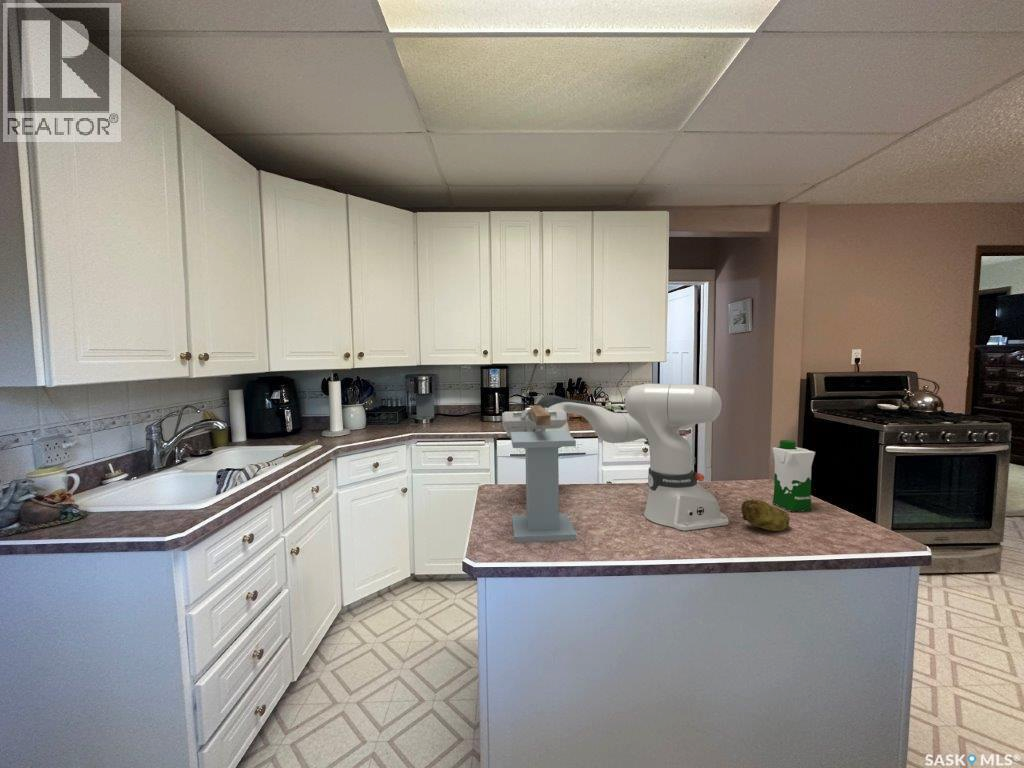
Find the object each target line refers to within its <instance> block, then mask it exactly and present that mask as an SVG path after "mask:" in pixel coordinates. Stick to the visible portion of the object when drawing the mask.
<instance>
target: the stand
mask: <svg viewBox="0 0 1024 768" xmlns="http://www.w3.org/2000/svg"><path fill="white" fill-rule="evenodd" d="M509 437H510V440H511V446H512V448H513V449H524V448H525V449H524V451H525V454H524V455H525V501H526V502H525V503H526V505H525V506H526V512H525V513H526V514H517V515H515V514H514V515H511V524H512V531H513V540H514V543H534V542H558V541H559V542H560V541H562V542H563V541H564V542H565V541H577V539H578V538H577V533H576V531H575V529H574V526H573V524H572V522H571V520H570V518H569V516H568V513H567V512H566V513H560V501H559V500H560V491H559V490H560V488H559V486H560V484H559V483H560V482H559V481H560V480H559V477H560V473H559V472H560V471H559V448H558V447H560V448H565V447H566V448H567V447H569V448H572V447H576V446H577V444H576V443H577V440H576V439H575V438H574V437H573V436H572V435H571V433H570V434H569V433H568V432H567V431H534V432H510V436H509Z"/></svg>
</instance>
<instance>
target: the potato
mask: <svg viewBox="0 0 1024 768" xmlns="http://www.w3.org/2000/svg"><path fill="white" fill-rule="evenodd" d="M740 507H741V508H740V511H741V514H742V520H744V521H746V522H748V523H749V524H750V525H751V526H755V527H758V528H762V529H763V530H765V531H769V532H780V531H783V530H784V531H785V529H787V528H788V526H789V524H790V520H791V519H790V515H789V514H788V513H787V512H785V511H784V509H783V510H782V508H781V509H780V508H778V507H774V506H772V505H771V504H769V503H768V502H766V501H763V500H761V499H754V498H752V499H747V500H745V501H743V503H742V504H741V506H740Z"/></svg>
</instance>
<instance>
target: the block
mask: <svg viewBox="0 0 1024 768" xmlns="http://www.w3.org/2000/svg"><path fill="white" fill-rule="evenodd" d="M536 405H537V404H536ZM536 405H528V408H530V411H531V414H530V416H531V417H532V419H533V420H534V422H535V423H536V425H537V426H540V425H551V421H550V415H549V414H548V413H547V412H546V411H545V410H544V409H543V408H542V407H541V406H540V405H537V406H536Z"/></svg>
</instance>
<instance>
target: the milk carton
mask: <svg viewBox="0 0 1024 768" xmlns="http://www.w3.org/2000/svg"><path fill="white" fill-rule="evenodd" d="M772 453H773V459H774V480H773V481H774V484H773V486H774V487H773V495H772V496H773V497H772V504H773V503H775V504H777V505H779V506H781V507H783V508H785V509H787V510H790V511H801V512H803V511H802V510H812V511H813V508H812V507H813V506H812V497H811V496H812V494H811V493H812V492H811V491H812V489H811V488H812V466H813V462H814V458H815V455H816V451H813V450H809V449H807V448H803V447H797V446H796V441H794V440H787V439H781V440H780V441H779V446H775V447H772ZM781 507H780V508H781ZM783 508H782V509H783ZM785 509H784V510H785ZM787 510H786V511H787ZM790 511H789V512H790Z"/></svg>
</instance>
